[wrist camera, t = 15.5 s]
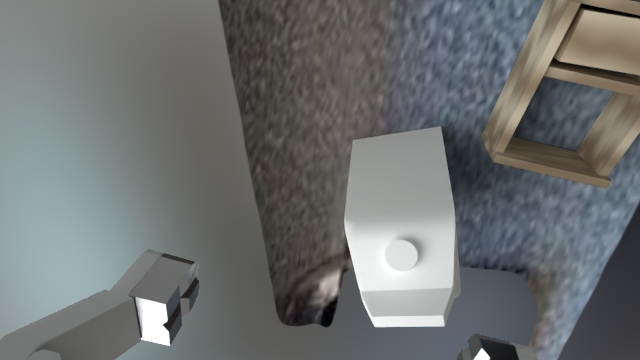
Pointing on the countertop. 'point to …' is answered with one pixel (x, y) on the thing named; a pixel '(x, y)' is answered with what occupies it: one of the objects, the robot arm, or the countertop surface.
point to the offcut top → (602, 41)
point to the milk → (403, 228)
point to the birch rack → (536, 61)
